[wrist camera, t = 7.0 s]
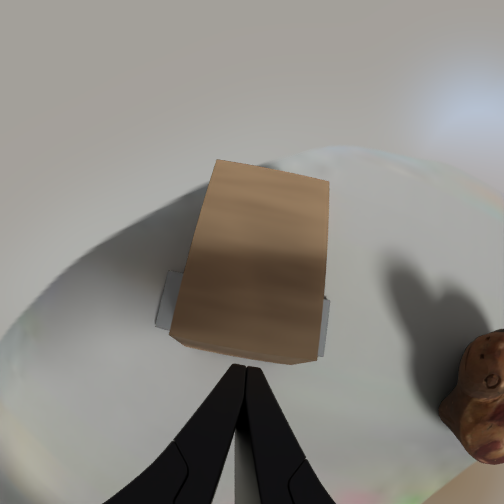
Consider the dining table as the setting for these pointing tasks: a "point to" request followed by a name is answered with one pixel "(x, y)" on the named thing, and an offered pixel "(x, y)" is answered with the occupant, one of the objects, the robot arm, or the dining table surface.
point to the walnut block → (256, 266)
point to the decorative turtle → (479, 400)
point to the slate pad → (171, 298)
